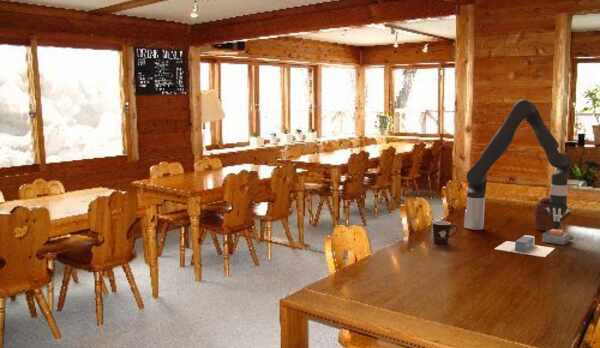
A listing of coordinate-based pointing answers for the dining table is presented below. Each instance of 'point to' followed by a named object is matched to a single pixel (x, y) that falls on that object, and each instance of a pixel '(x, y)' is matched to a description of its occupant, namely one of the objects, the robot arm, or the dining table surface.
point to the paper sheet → (534, 251)
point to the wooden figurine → (543, 215)
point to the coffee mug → (442, 232)
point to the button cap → (556, 232)
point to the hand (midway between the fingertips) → (556, 228)
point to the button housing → (555, 238)
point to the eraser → (524, 243)
